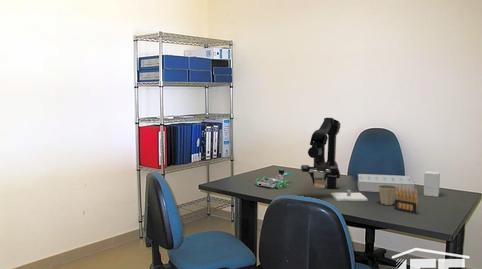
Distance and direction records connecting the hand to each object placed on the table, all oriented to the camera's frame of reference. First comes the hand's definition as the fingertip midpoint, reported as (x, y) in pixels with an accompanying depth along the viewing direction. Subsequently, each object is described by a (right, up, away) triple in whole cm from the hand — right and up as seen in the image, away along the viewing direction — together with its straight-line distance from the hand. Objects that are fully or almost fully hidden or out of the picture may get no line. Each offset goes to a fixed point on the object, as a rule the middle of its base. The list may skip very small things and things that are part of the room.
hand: (318, 184), depth 224 cm
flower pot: (+32, -8, -13) cm, 36 cm away
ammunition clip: (+36, -10, -27) cm, 46 cm away
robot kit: (-20, -4, +31) cm, 37 cm away
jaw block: (0, -1, 0) cm, 1 cm away
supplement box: (+63, -7, +5) cm, 64 cm away
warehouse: (+42, -6, +18) cm, 46 cm away
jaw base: (+16, -7, -1) cm, 18 cm away
